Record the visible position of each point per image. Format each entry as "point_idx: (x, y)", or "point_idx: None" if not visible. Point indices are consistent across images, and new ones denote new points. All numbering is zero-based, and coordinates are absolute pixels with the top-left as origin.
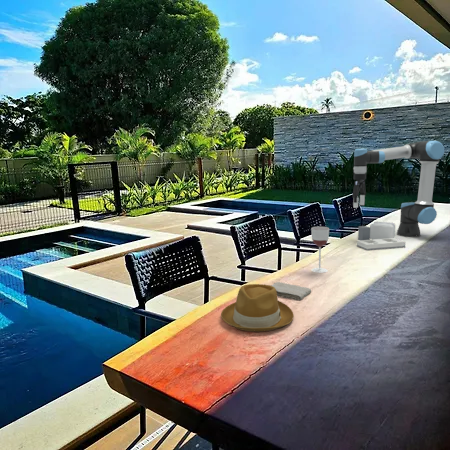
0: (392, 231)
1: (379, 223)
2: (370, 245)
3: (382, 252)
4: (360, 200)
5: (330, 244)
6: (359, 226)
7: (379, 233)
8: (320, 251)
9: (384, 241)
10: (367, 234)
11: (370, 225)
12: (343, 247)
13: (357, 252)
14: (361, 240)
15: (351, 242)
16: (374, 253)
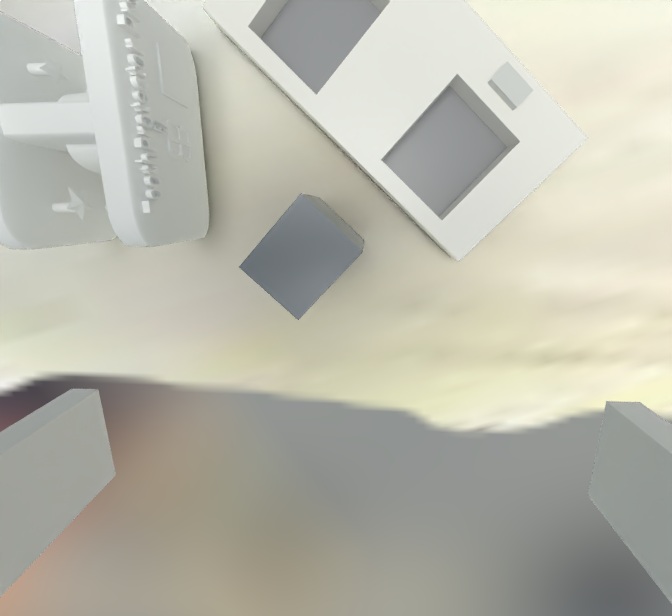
0: (145, 3)
1: (15, 182)
2: (562, 114)
3: (585, 8)
4: (17, 564)
5: (475, 417)
6: (293, 311)
7: (182, 149)
8: None
9: (390, 38)
10: (330, 214)
11: (151, 240)
12: (529, 321)
13: (652, 187)
14: (436, 231)
15: (353, 321)
16: (643, 58)
